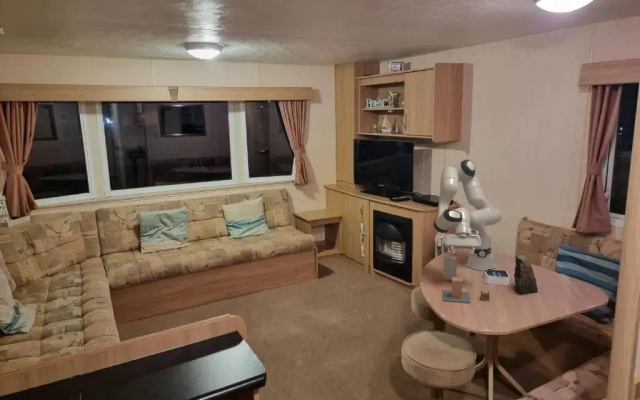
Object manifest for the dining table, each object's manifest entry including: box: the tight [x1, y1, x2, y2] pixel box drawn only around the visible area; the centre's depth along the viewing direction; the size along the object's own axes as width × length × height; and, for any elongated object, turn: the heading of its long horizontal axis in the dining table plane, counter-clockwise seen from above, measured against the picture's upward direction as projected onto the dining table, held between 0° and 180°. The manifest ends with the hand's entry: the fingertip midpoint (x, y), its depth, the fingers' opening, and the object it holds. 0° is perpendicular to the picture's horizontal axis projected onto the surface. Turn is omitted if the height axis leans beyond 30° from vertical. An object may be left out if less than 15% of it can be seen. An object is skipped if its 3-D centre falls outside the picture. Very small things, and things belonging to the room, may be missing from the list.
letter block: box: [480, 290, 490, 302], centre depth 237 cm, size 4×4×4 cm
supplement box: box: [442, 255, 458, 281], centre depth 267 cm, size 7×7×13 cm
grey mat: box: [442, 289, 471, 304], centre depth 241 cm, size 14×14×1 cm
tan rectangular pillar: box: [451, 276, 463, 298], centre depth 240 cm, size 5×5×10 cm
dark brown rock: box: [513, 253, 539, 296], centre depth 246 cm, size 13×13×20 cm
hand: (462, 254), depth 248 cm, fingers open, 8 cm apart
